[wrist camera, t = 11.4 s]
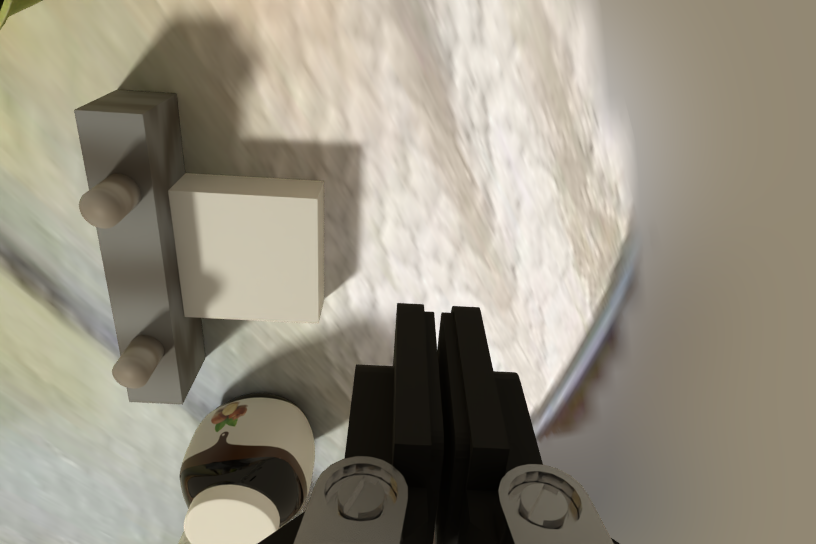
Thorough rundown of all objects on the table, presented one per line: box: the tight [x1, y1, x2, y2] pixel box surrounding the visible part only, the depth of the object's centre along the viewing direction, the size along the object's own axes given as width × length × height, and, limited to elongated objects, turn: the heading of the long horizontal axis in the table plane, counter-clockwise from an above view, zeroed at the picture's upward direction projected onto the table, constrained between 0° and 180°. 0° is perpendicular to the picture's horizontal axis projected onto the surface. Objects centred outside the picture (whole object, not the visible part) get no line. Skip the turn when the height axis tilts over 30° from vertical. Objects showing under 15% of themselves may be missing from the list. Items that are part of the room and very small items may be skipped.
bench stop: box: [74, 90, 205, 404], centre depth 42 cm, size 22×4×9 cm, turn 176°
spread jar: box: [180, 393, 315, 544], centre depth 51 cm, size 12×11×12 cm
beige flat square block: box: [168, 173, 324, 324], centre depth 45 cm, size 10×10×4 cm
